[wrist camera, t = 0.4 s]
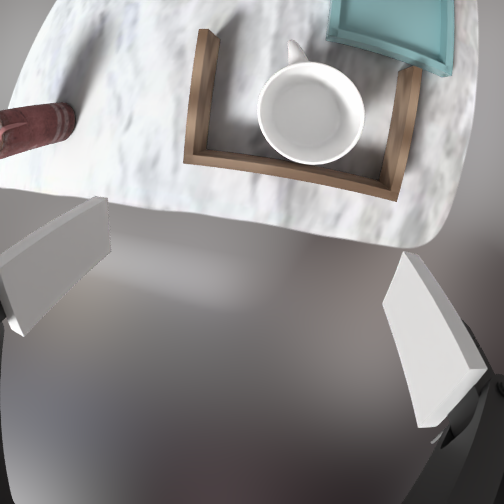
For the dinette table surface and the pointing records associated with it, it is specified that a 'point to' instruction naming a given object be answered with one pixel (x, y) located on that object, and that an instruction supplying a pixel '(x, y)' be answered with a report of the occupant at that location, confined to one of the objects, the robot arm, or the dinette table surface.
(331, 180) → the bay
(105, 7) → the dinette table surface
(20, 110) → the can
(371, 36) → the tray
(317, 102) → the mug
